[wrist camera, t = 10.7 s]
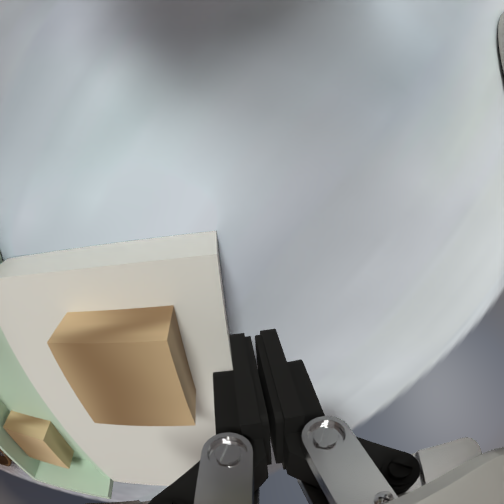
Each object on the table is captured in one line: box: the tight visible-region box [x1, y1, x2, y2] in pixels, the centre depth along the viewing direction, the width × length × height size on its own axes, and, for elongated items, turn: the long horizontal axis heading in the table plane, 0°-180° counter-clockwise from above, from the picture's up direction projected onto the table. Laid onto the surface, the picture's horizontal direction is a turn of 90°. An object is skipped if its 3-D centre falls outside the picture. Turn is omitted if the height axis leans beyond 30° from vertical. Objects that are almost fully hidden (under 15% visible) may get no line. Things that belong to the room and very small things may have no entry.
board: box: [0, 231, 233, 486], centre depth 13 cm, size 11×18×2 cm, turn 4°
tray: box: [0, 254, 113, 499], centre depth 12 cm, size 8×20×4 cm, turn 4°
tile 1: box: [47, 305, 196, 426], centre depth 10 cm, size 4×4×2 cm
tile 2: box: [3, 410, 74, 469], centre depth 14 cm, size 4×4×2 cm
